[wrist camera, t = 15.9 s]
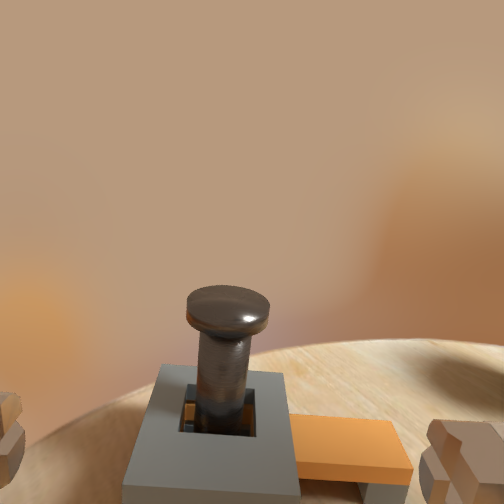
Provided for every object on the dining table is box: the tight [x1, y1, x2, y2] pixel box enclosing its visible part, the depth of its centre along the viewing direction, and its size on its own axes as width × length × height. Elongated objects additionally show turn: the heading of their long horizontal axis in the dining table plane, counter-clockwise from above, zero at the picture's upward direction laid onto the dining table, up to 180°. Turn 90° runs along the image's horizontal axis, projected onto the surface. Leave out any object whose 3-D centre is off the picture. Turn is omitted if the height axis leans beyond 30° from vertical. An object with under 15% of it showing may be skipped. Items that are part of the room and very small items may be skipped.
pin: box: [186, 285, 270, 436], centre depth 31 cm, size 6×6×14 cm
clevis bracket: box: [122, 364, 414, 504], centre depth 32 cm, size 19×12×6 cm, turn 91°
